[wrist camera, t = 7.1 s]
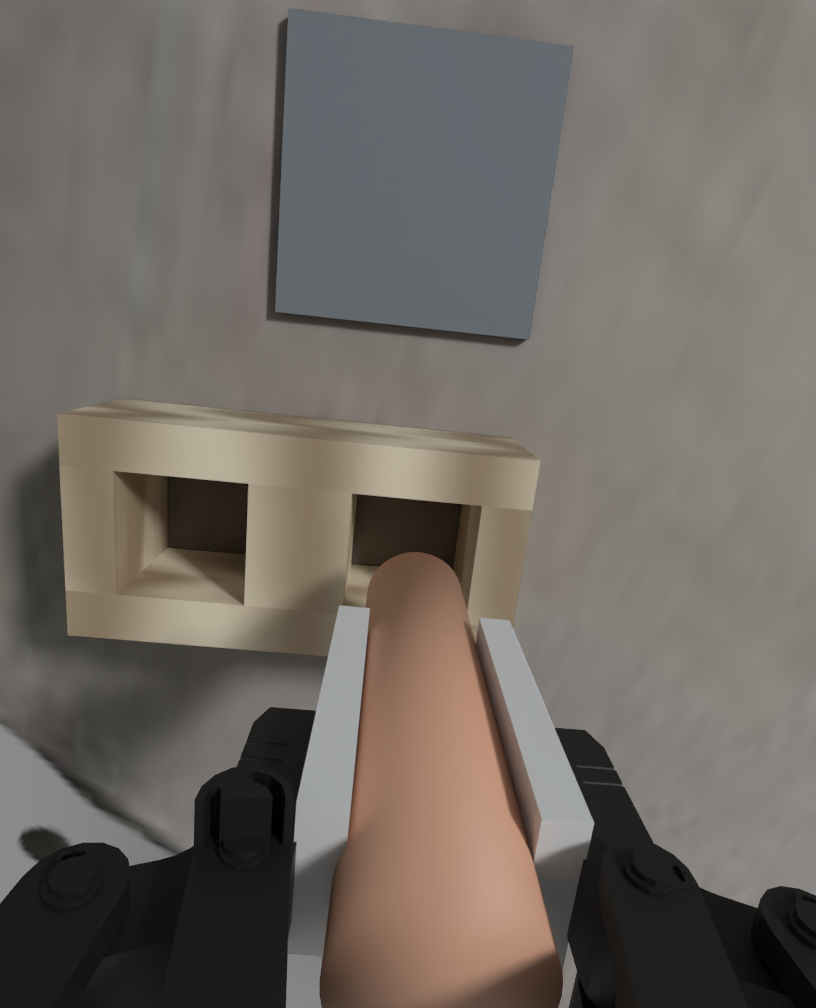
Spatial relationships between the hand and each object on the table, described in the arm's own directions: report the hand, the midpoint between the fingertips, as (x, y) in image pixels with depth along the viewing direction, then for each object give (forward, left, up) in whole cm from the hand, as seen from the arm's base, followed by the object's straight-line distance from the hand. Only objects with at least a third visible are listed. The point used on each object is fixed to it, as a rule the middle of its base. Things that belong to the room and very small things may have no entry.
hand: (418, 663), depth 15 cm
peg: (0, 0, -4) cm, 4 cm away
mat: (-1, +13, -11) cm, 18 cm away
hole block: (-4, 0, -12) cm, 12 cm away
